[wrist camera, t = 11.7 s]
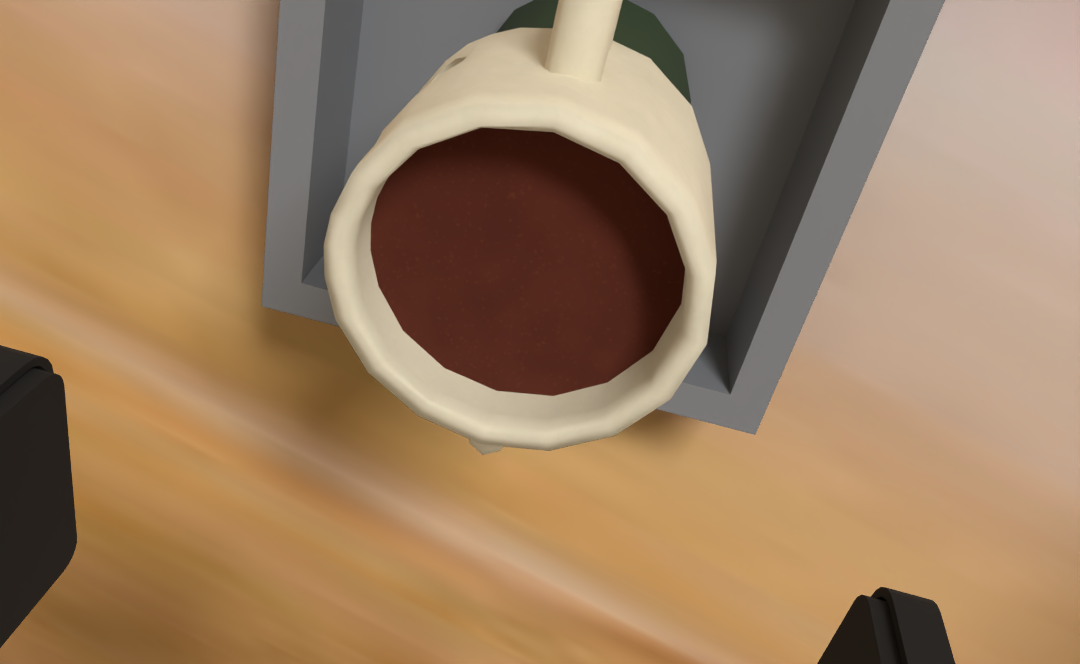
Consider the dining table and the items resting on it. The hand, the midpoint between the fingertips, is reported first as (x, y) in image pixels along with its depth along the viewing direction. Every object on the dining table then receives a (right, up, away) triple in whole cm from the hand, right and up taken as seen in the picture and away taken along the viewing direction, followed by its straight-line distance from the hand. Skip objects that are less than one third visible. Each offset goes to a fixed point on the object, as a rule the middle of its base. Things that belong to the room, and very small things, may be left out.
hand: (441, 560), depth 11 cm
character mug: (+3, +10, +17) cm, 20 cm away
